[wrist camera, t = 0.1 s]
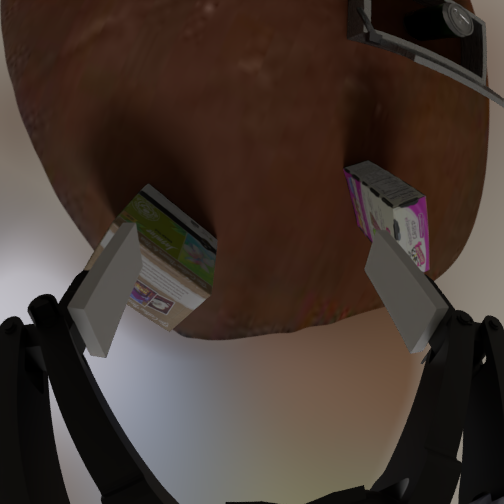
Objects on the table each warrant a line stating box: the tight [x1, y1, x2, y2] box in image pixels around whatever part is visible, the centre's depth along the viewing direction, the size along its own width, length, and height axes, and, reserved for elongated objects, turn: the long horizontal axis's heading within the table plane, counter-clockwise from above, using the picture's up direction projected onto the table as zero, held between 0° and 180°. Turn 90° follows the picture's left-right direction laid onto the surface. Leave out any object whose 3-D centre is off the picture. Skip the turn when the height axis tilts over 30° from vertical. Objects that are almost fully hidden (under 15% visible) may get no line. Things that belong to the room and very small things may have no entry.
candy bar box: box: [343, 160, 429, 272], centre depth 36 cm, size 11×5×16 cm, turn 23°
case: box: [347, 0, 504, 107], centre depth 21 cm, size 18×25×18 cm
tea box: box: [84, 184, 217, 332], centre depth 39 cm, size 15×10×15 cm, turn 45°
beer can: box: [403, 2, 474, 41], centre depth 22 cm, size 5×5×12 cm
